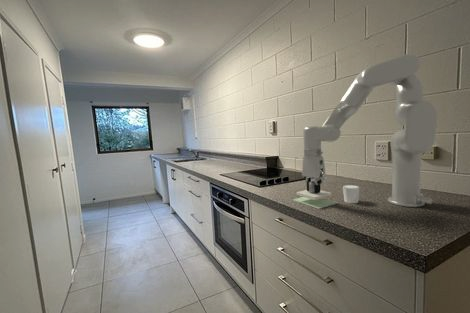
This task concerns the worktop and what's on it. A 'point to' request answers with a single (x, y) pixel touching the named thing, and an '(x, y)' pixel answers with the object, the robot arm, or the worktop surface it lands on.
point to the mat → (315, 202)
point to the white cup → (351, 193)
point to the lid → (313, 192)
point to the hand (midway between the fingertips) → (313, 191)
